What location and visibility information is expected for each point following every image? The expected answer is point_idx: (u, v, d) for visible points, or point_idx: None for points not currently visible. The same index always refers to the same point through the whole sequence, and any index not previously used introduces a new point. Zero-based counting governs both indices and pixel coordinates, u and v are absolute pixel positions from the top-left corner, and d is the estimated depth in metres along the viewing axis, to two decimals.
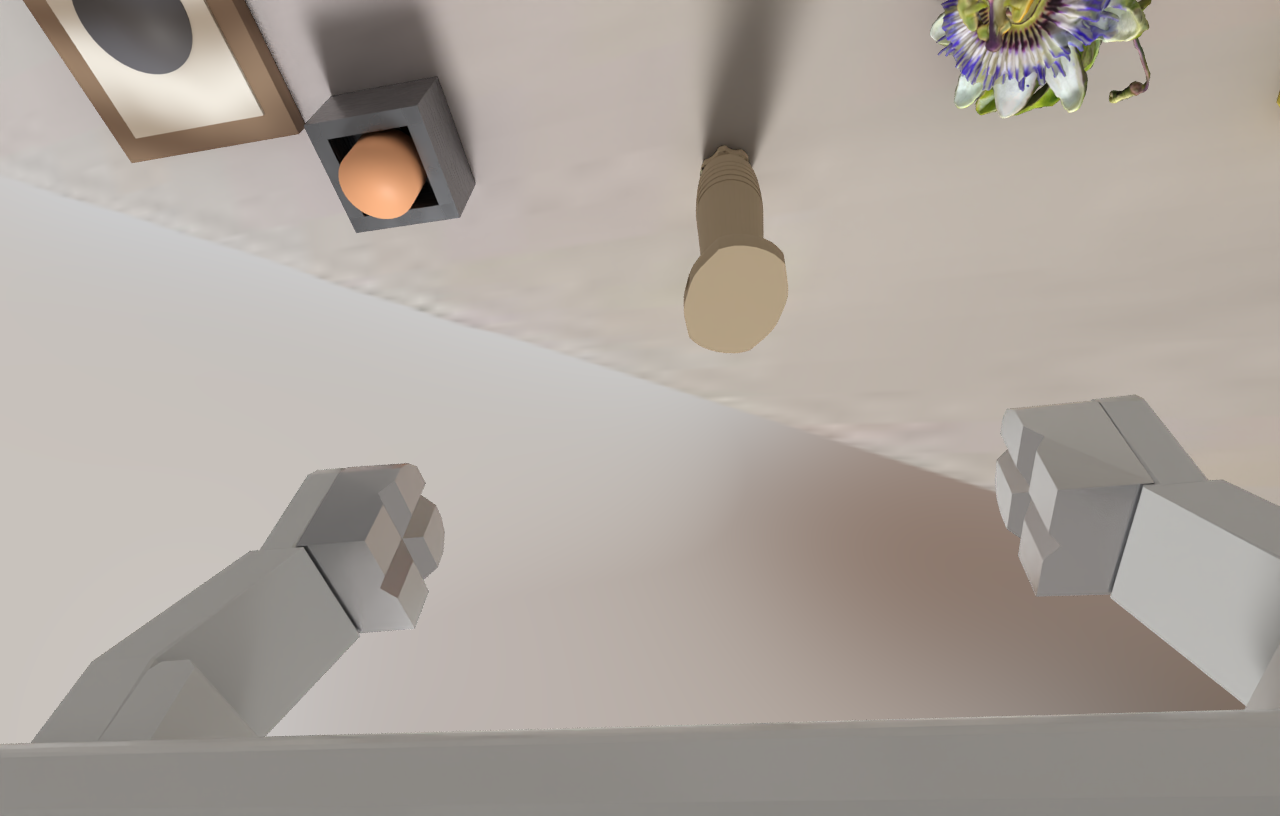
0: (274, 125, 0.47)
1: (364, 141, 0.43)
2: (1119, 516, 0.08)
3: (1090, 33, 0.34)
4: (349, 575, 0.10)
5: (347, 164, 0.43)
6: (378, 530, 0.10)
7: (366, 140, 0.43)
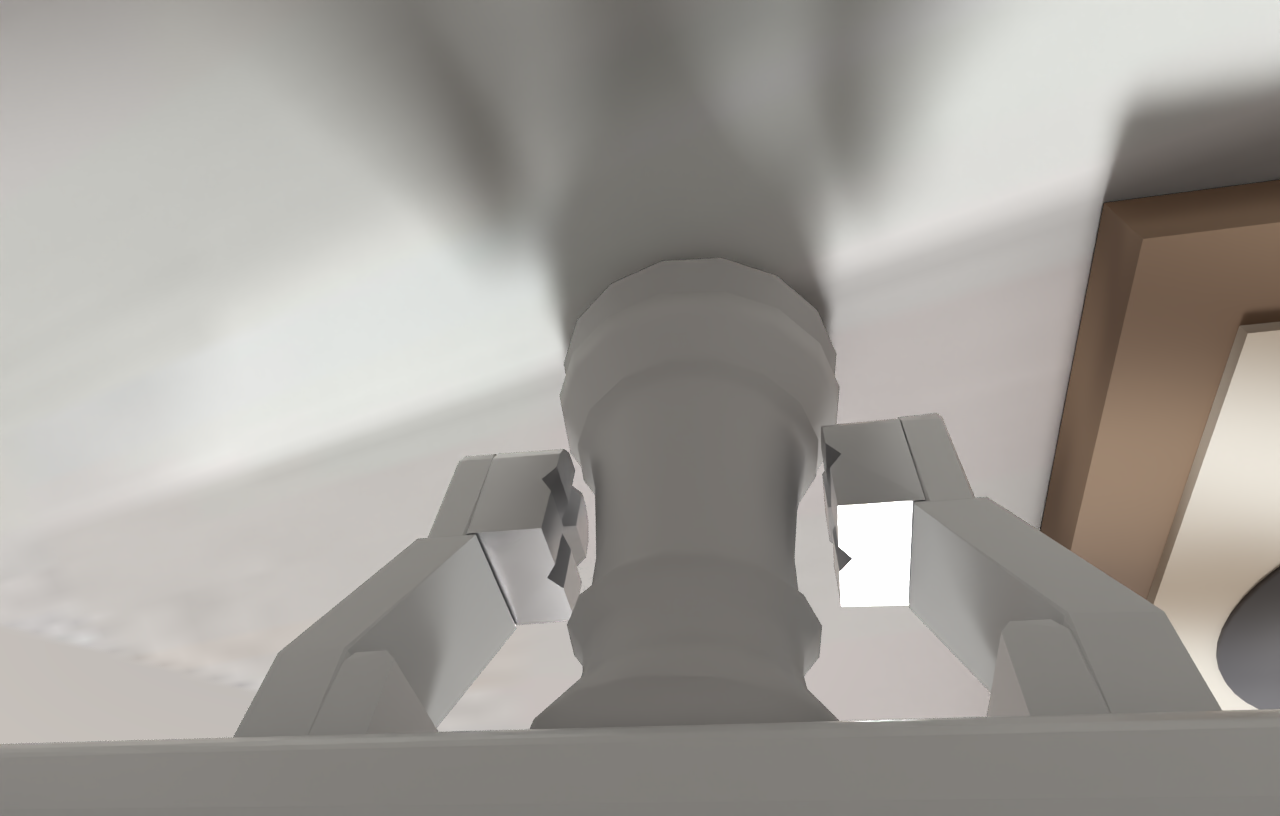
0: None
1: None
2: (901, 530, 0.09)
3: None
4: (517, 564, 0.09)
5: None
6: (549, 518, 0.09)
7: None
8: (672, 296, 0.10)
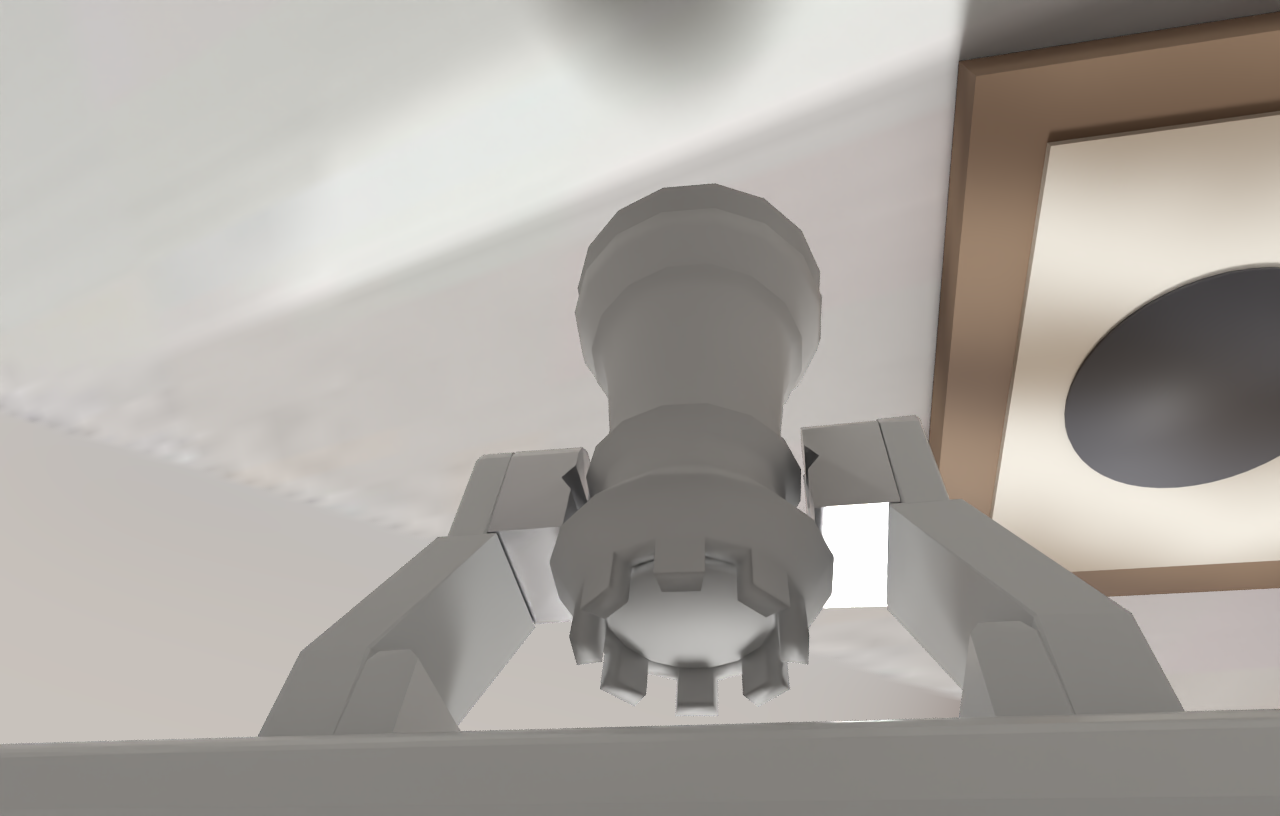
0: None
1: None
2: (877, 532, 0.09)
3: None
4: (537, 563, 0.09)
5: None
6: (570, 516, 0.09)
7: None
8: (672, 214, 0.12)
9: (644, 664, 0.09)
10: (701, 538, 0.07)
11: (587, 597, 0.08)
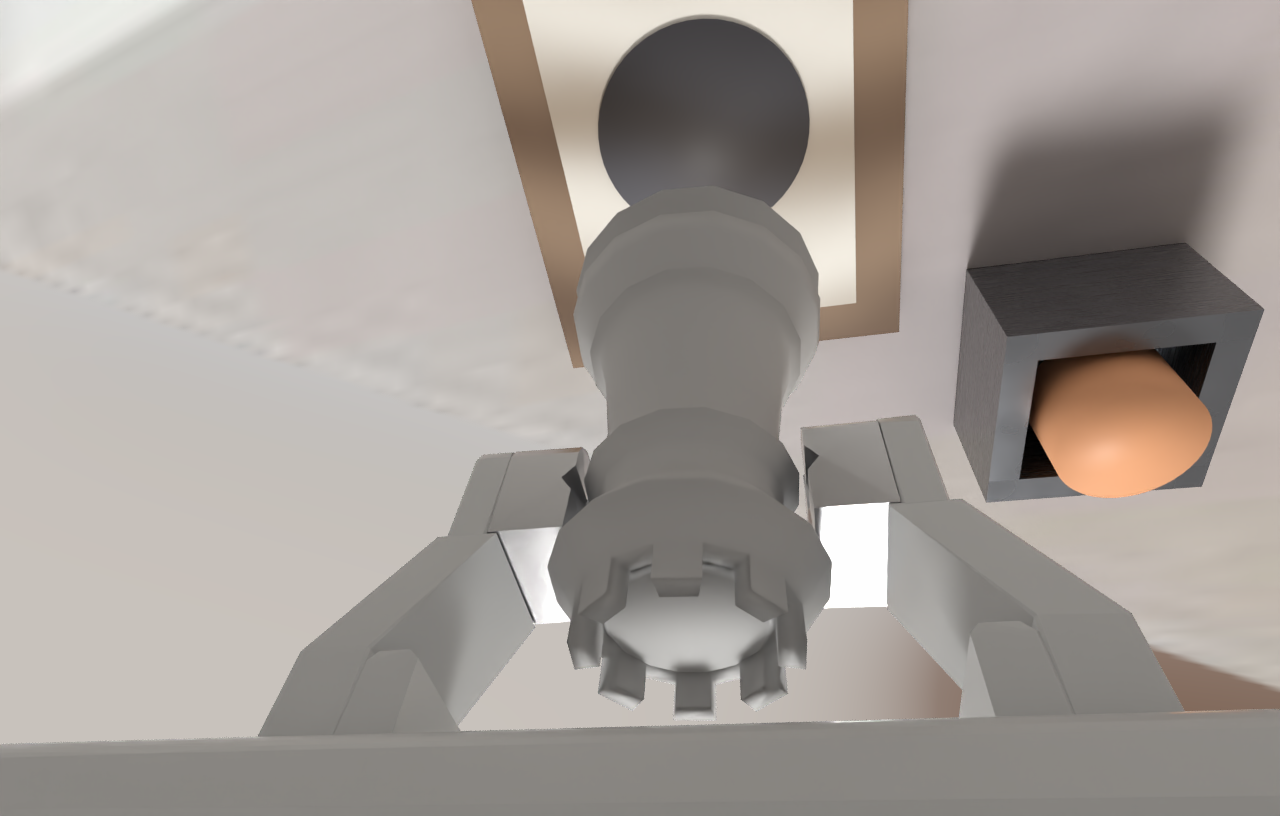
0: (862, 318, 0.27)
1: (1125, 368, 0.23)
2: (877, 533, 0.09)
3: None
4: (537, 563, 0.09)
5: (1098, 412, 0.22)
6: (569, 516, 0.09)
7: (1127, 366, 0.23)
8: (670, 216, 0.12)
9: (642, 668, 0.09)
10: (699, 543, 0.07)
11: (585, 602, 0.08)
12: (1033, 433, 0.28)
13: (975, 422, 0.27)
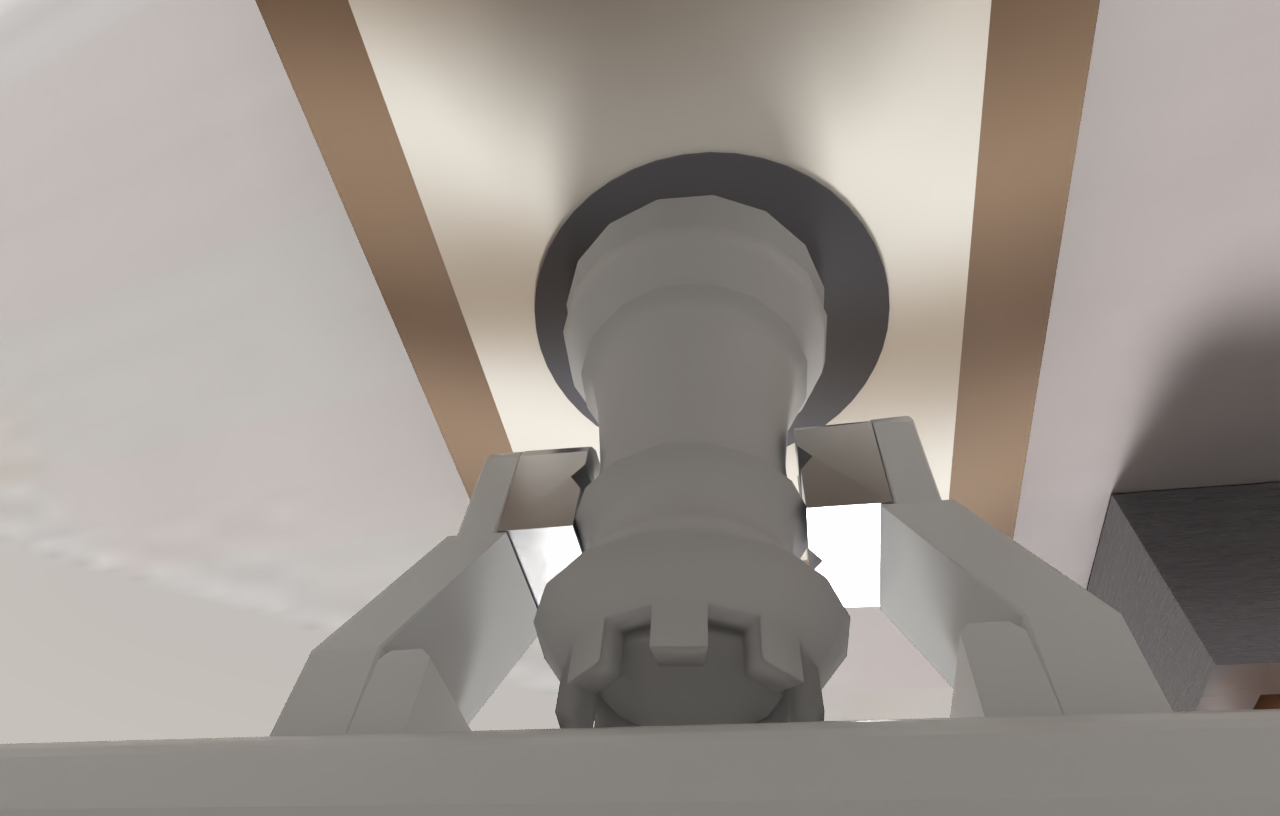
0: None
1: None
2: (869, 533, 0.09)
3: None
4: (547, 562, 0.09)
5: None
6: None
7: None
8: (667, 228, 0.11)
9: None
10: (702, 605, 0.07)
11: (575, 670, 0.07)
12: None
13: None
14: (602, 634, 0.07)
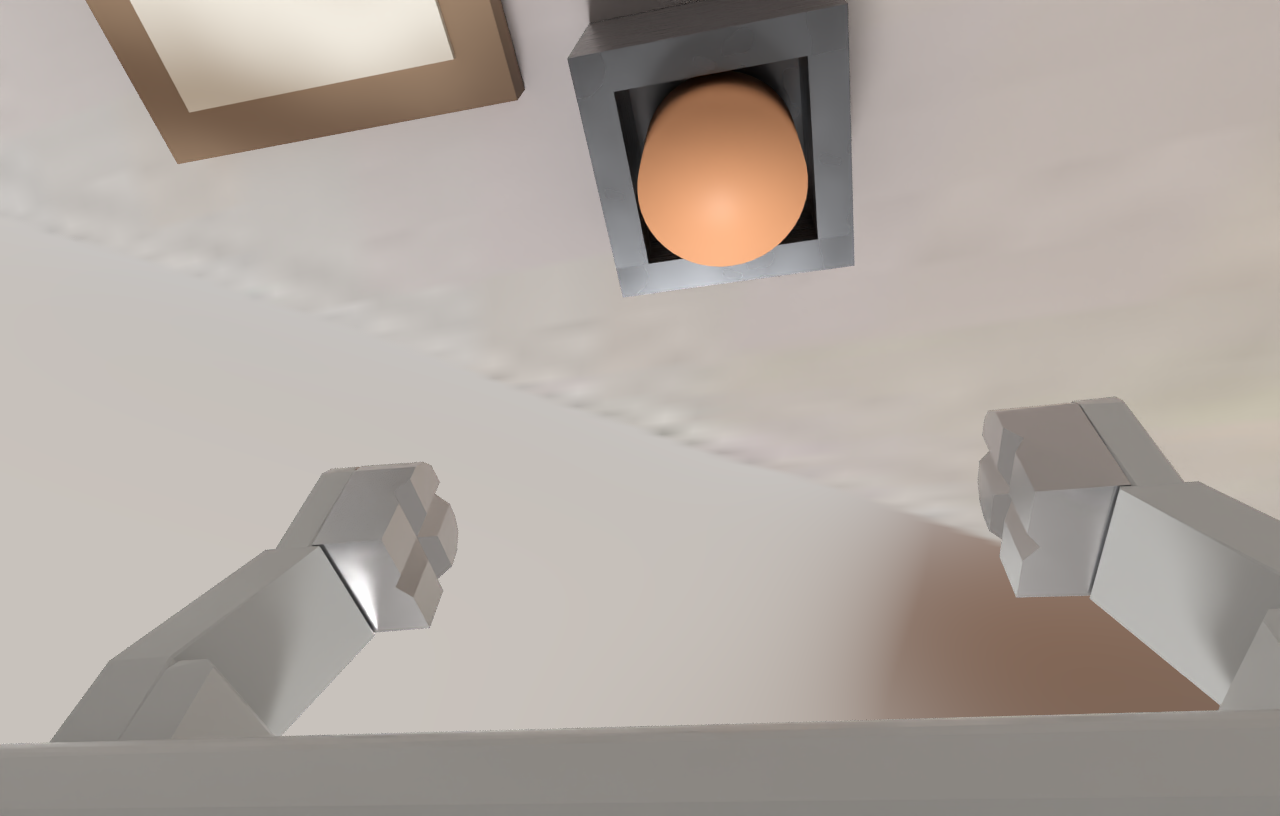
0: (470, 82, 0.23)
1: (704, 92, 0.19)
2: (1096, 517, 0.08)
3: None
4: (365, 574, 0.10)
5: (667, 141, 0.19)
6: (394, 528, 0.10)
7: (708, 90, 0.19)
8: None
9: None
10: None
11: None
12: None
13: None
14: None
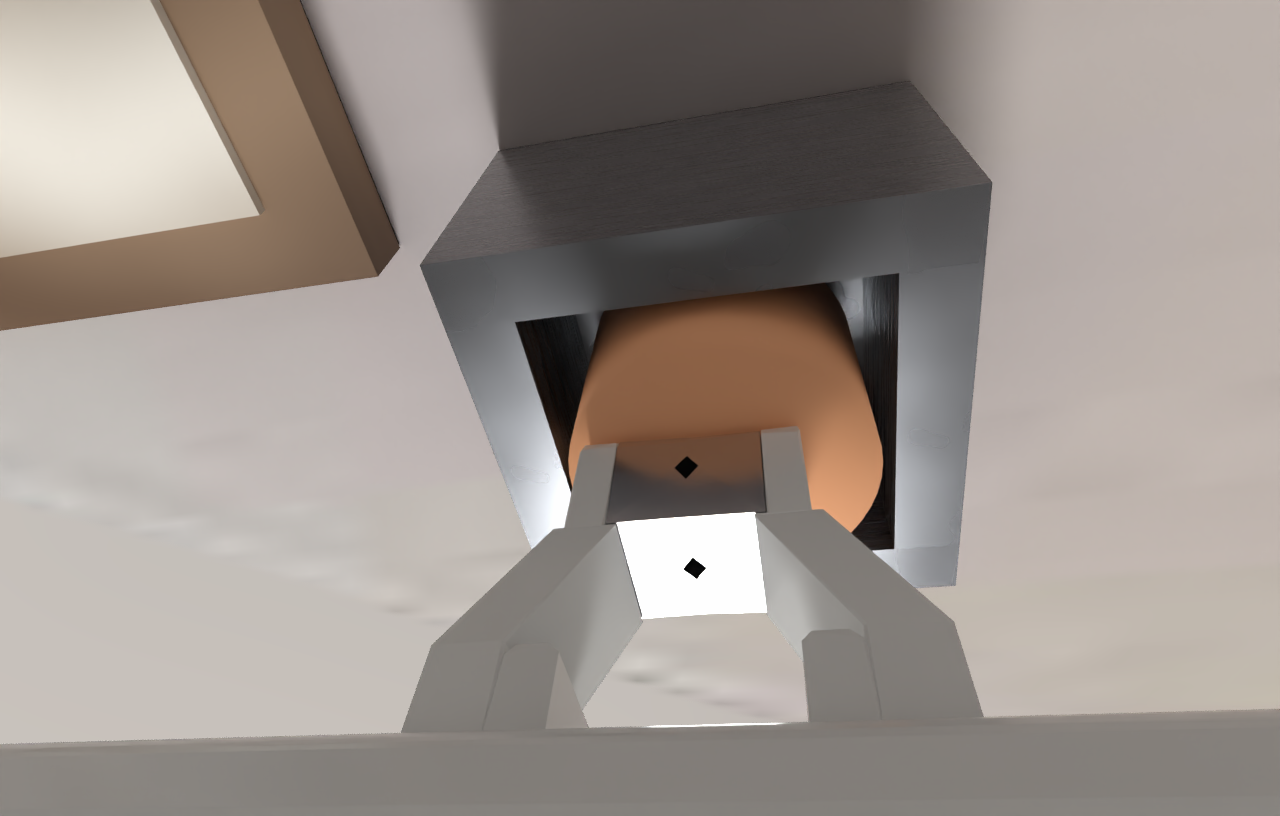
0: (296, 248, 0.13)
1: (691, 306, 0.10)
2: (747, 541, 0.09)
3: None
4: (654, 555, 0.09)
5: (621, 403, 0.10)
6: (687, 507, 0.09)
7: (699, 301, 0.10)
8: None
9: None
10: None
11: None
12: None
13: None
14: None
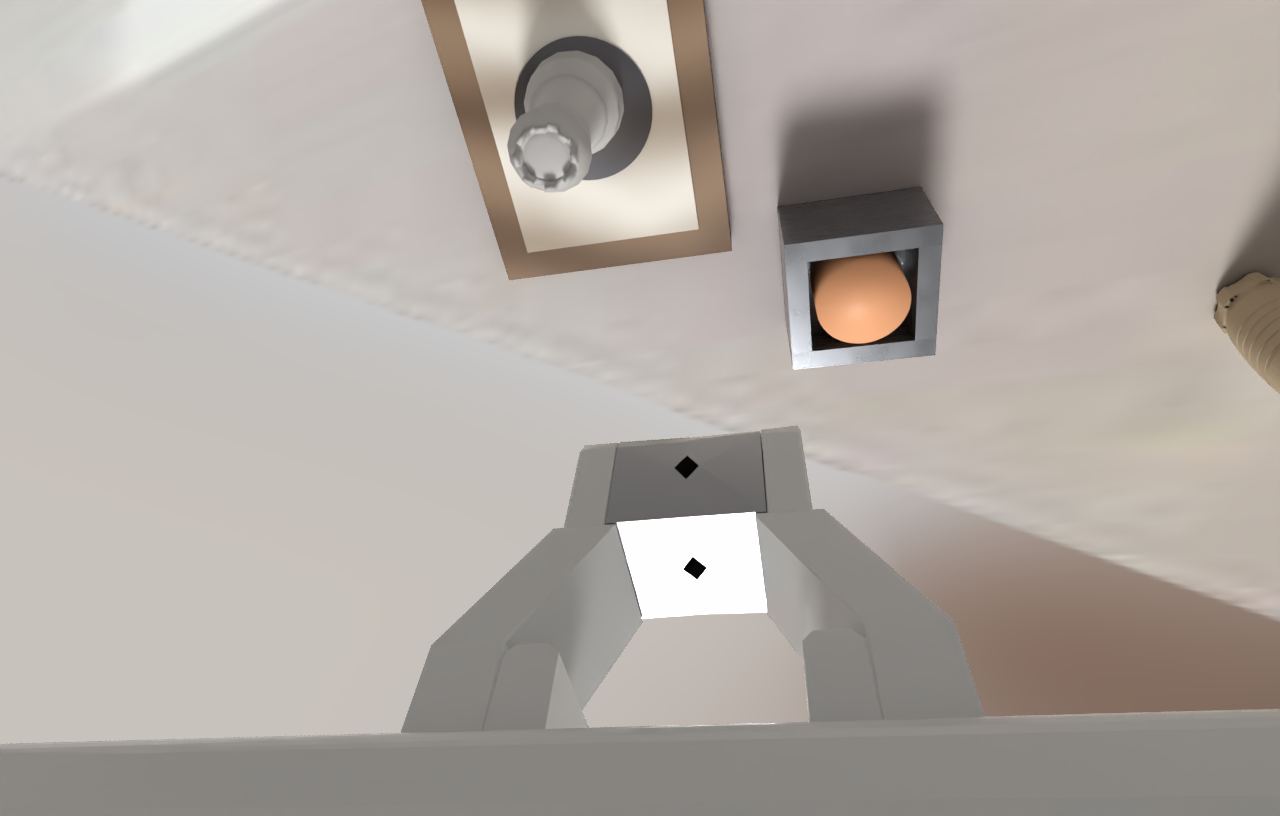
0: (705, 240, 0.38)
1: None
2: (748, 542, 0.09)
3: None
4: (654, 555, 0.09)
5: (837, 280, 0.35)
6: (687, 506, 0.09)
7: None
8: (559, 59, 0.32)
9: (535, 177, 0.29)
10: (547, 121, 0.28)
11: (516, 139, 0.28)
12: None
13: (787, 315, 0.39)
14: (523, 129, 0.28)
